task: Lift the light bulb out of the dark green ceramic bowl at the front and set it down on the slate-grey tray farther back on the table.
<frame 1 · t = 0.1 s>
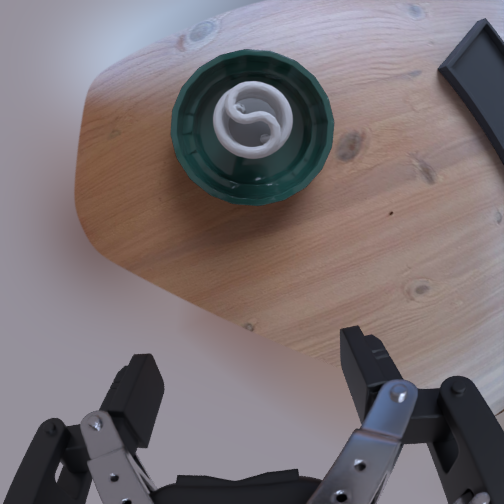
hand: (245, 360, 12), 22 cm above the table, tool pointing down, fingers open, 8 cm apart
bowl: (252, 128, 30), on the table
light bulb: (252, 128, 30), resting on bowl
tray: (501, 99, 27), on the table
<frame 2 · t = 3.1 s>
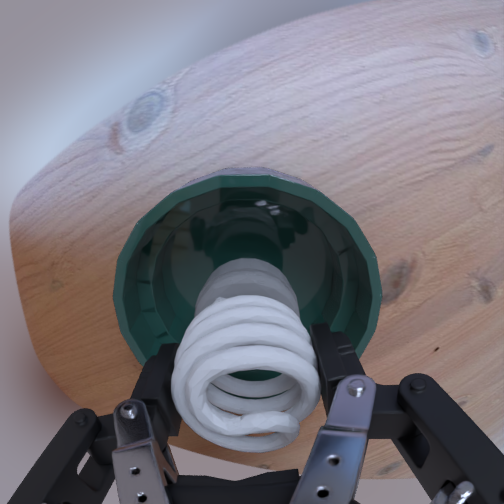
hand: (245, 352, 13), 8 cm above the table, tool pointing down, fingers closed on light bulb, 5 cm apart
bowl: (247, 278, 20), on the table
light bulb: (247, 279, 20), resting on bowl, touching gripper
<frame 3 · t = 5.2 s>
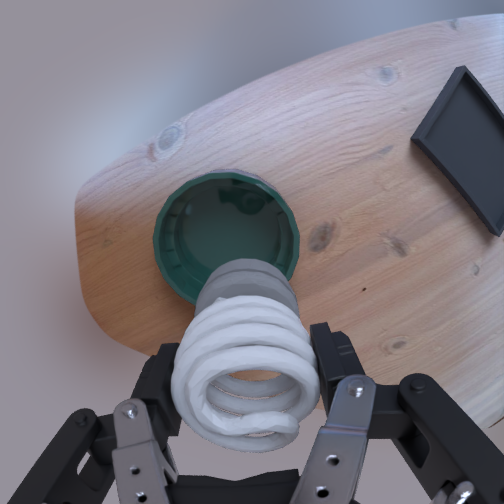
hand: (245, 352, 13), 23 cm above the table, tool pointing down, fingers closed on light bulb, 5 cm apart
bowl: (228, 233, 35), on the table
light bulb: (247, 279, 20), point 15 cm above the table, touching gripper
tray: (480, 152, 31), on the table
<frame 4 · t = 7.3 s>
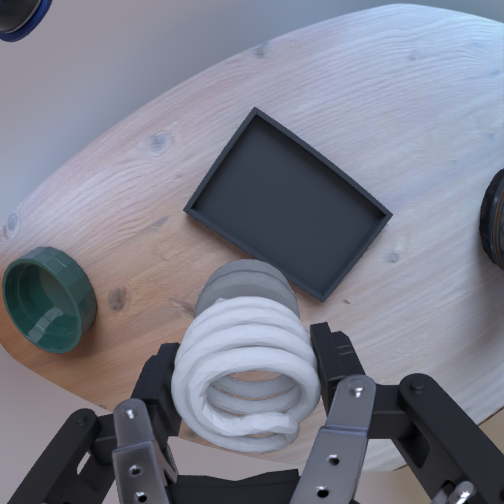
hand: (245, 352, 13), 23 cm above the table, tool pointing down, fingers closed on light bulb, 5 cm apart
bowl: (55, 293, 38), on the table
light bulb: (247, 280, 20), point 16 cm above the table, touching gripper
tray: (290, 207, 35), on the table
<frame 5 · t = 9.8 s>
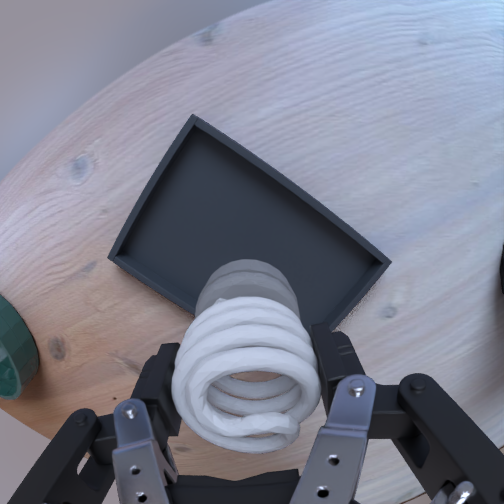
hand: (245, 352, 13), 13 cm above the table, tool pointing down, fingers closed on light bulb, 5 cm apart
light bulb: (247, 280, 20), point 6 cm above the table, touching gripper
tray: (249, 252, 26), on the table
when the fingers open (8 cm above the table, at t = 11.7 s): light bulb stays where it is, resting on tray.
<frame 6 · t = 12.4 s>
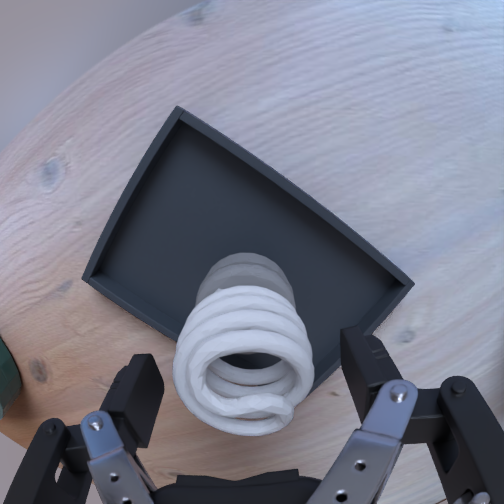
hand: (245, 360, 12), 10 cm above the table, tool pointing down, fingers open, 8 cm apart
light bulb: (246, 273, 21), resting on tray
tray: (247, 272, 21), on the table
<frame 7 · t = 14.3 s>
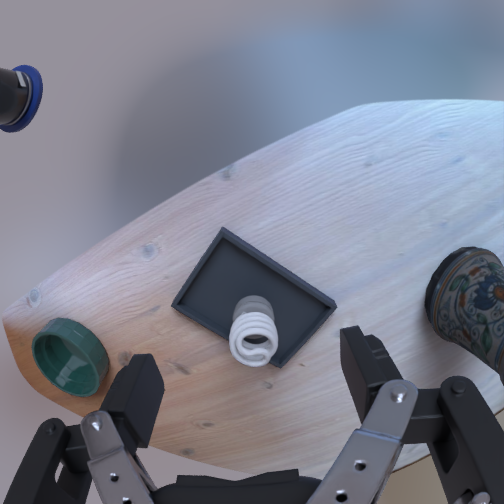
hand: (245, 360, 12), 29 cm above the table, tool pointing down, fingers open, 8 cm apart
bowl: (75, 350, 48), on the table
light bulb: (253, 302, 44), resting on tray
tray: (254, 301, 44), on the table
beer stein: (464, 281, 44), on the table
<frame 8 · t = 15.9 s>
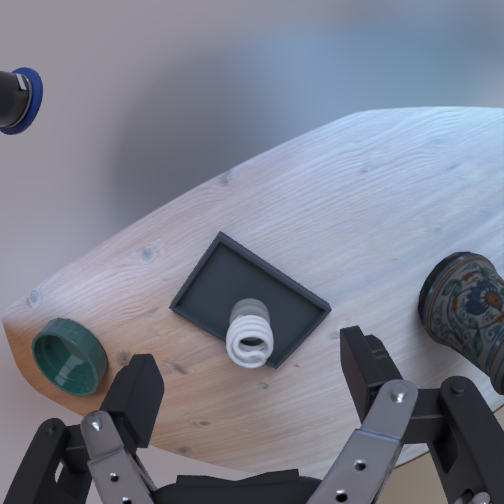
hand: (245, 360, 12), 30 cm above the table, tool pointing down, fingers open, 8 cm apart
bowl: (74, 350, 49), on the table
light bulb: (249, 304, 45), resting on tray
tray: (250, 303, 45), on the table
beer stein: (457, 285, 45), on the table
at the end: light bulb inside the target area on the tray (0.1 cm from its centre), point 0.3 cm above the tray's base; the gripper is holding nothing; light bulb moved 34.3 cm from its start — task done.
